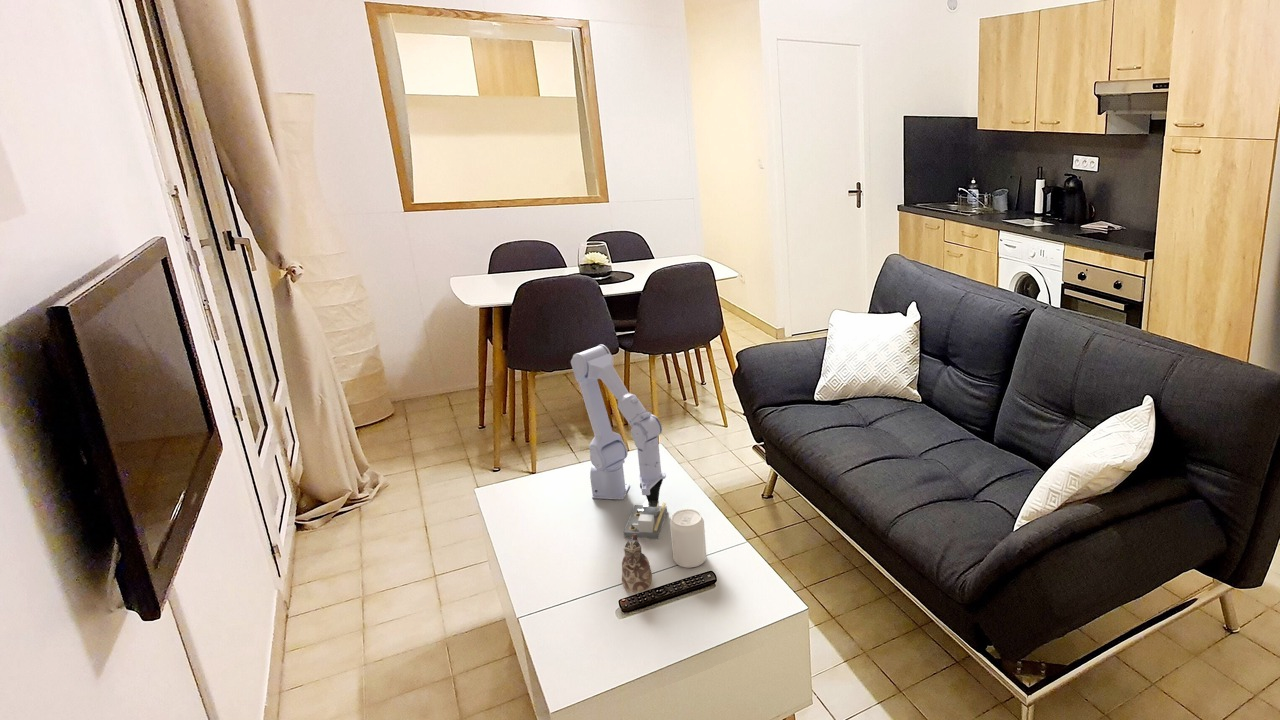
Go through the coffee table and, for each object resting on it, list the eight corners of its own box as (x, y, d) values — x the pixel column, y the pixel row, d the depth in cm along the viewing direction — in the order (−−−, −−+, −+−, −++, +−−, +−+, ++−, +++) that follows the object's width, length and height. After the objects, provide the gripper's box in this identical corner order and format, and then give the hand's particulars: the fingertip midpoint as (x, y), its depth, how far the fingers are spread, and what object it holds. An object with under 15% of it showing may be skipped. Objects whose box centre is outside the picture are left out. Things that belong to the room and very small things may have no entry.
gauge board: (624, 537, 181) (622, 521, 180) (635, 509, 193) (633, 494, 192) (657, 538, 179) (656, 522, 178) (667, 510, 191) (665, 495, 189)
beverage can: (709, 551, 172) (707, 509, 168) (702, 571, 165) (698, 528, 161) (678, 547, 175) (675, 506, 171) (669, 567, 168) (665, 525, 164)
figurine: (617, 590, 162) (612, 546, 158) (628, 571, 168) (623, 529, 164) (646, 594, 159) (641, 551, 155) (656, 575, 166) (652, 532, 161)
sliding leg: (635, 515, 187) (634, 506, 186) (638, 509, 190) (637, 500, 189) (657, 516, 186) (656, 506, 184) (659, 510, 188) (658, 500, 187)
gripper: (658, 474, 177) (663, 519, 182) (668, 447, 190) (672, 490, 195) (632, 473, 179) (637, 518, 183) (643, 447, 192) (648, 489, 197)
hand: (653, 504), depth 189 cm, fingers closed
